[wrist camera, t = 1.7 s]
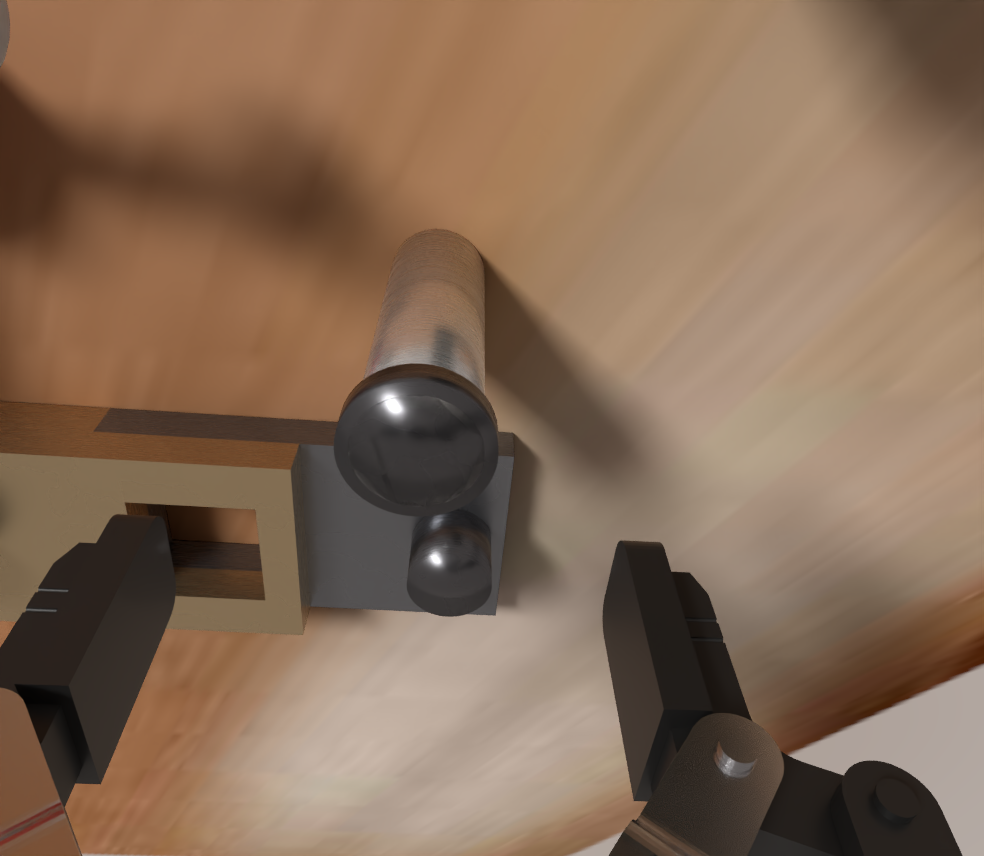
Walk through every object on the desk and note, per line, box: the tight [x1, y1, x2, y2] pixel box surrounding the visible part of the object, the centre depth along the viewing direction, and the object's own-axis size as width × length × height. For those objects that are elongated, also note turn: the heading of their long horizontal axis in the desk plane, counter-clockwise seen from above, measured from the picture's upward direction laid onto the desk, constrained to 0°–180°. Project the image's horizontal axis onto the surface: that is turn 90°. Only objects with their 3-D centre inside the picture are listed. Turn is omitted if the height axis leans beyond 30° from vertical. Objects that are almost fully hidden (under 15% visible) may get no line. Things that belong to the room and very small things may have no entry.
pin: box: [334, 229, 499, 517], centre depth 21 cm, size 4×4×10 cm
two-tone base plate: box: [0, 402, 514, 635], centre depth 29 cm, size 22×8×5 cm, turn 85°
